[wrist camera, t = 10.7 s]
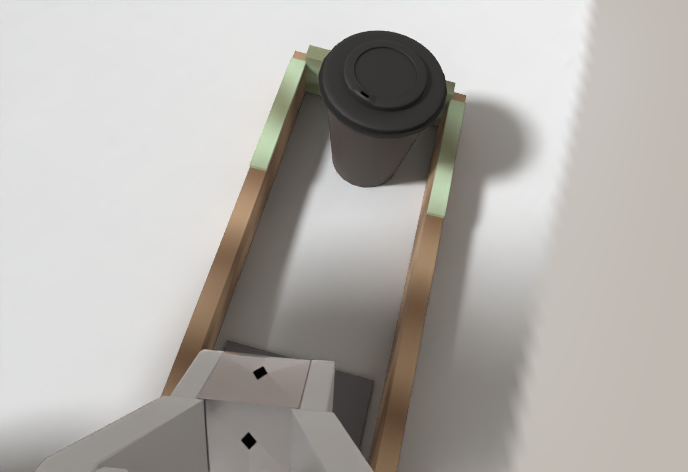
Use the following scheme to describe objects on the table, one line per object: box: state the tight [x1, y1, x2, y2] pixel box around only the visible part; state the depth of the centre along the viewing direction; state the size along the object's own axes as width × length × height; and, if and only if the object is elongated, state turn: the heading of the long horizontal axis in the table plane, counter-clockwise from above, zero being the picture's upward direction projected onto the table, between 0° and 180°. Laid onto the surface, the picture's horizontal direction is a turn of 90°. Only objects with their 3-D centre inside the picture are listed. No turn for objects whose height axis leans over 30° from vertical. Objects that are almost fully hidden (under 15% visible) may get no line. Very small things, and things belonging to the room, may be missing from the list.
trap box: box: [161, 45, 466, 472], centre depth 29 cm, size 36×14×4 cm, turn 166°
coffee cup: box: [318, 31, 447, 187], centre depth 31 cm, size 8×8×10 cm
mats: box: [224, 341, 374, 449], centre depth 27 cm, size 11×10×1 cm
